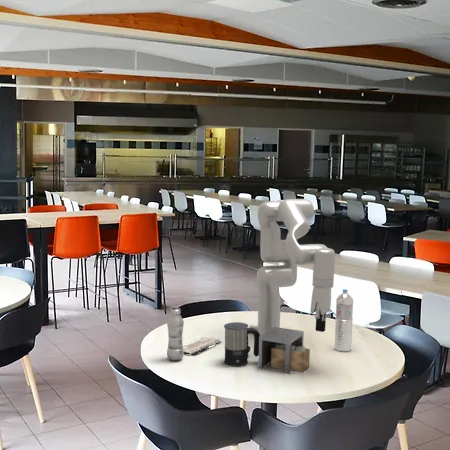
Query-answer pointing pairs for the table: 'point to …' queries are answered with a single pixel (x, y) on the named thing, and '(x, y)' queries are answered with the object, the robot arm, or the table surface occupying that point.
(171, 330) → the plastic bottle
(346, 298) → the water bottle
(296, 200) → the robot arm
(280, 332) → the gray open-front box
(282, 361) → the glass carrier
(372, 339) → the table surface
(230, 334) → the milk frother
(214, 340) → the newspaper
